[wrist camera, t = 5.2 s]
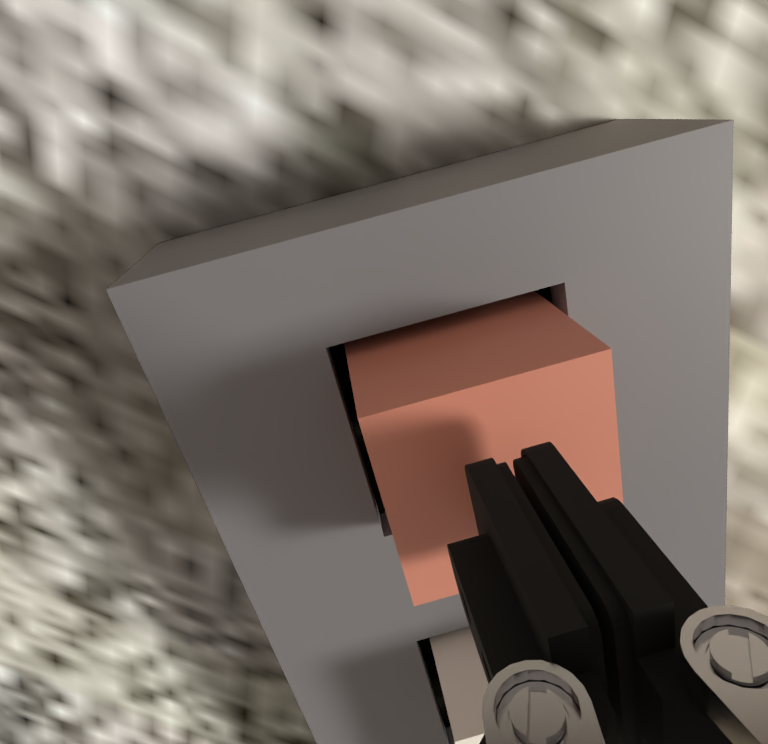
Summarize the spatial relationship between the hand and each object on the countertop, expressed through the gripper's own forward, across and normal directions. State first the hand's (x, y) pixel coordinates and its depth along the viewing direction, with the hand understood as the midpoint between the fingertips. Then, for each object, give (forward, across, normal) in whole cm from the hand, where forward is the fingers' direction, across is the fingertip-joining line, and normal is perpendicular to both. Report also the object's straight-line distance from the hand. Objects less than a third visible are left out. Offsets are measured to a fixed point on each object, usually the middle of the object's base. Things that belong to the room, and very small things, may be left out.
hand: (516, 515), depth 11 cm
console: (+9, 0, +10) cm, 13 cm away
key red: (+6, 0, 0) cm, 6 cm away
